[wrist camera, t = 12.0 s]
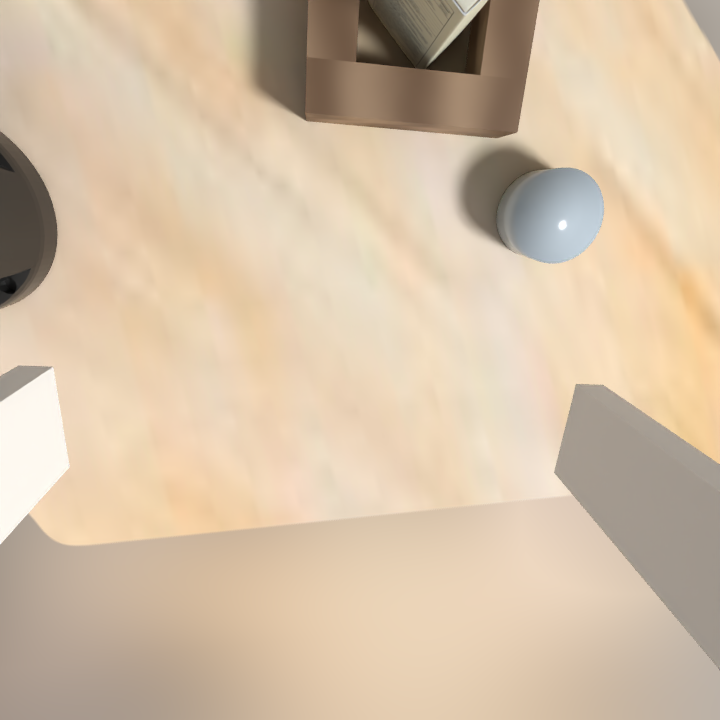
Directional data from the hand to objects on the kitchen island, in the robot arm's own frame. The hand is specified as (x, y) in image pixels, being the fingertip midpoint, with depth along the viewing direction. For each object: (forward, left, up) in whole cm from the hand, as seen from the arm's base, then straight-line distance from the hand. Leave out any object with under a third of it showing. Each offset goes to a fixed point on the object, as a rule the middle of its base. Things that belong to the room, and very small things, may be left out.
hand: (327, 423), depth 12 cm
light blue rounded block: (+18, +5, -29) cm, 34 cm away
